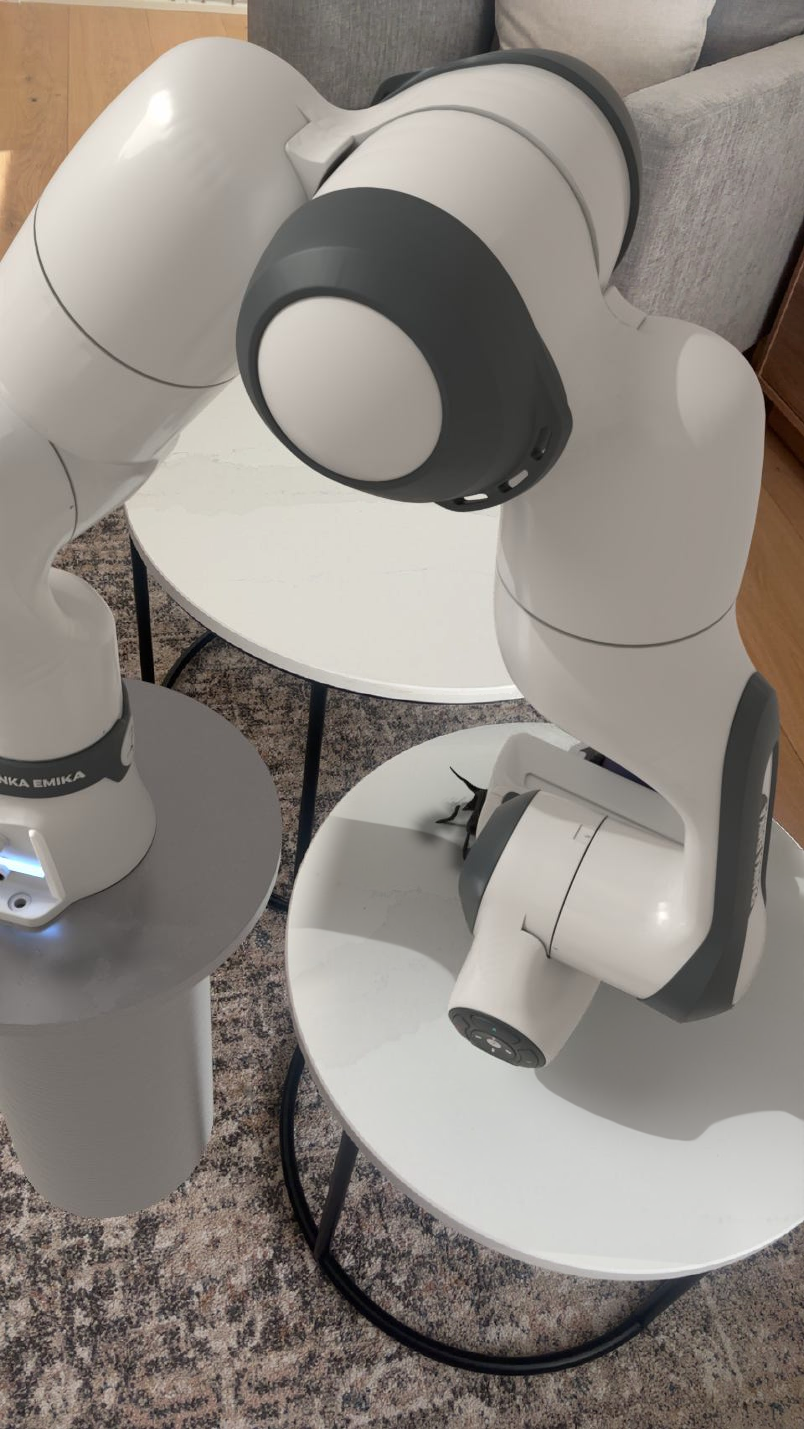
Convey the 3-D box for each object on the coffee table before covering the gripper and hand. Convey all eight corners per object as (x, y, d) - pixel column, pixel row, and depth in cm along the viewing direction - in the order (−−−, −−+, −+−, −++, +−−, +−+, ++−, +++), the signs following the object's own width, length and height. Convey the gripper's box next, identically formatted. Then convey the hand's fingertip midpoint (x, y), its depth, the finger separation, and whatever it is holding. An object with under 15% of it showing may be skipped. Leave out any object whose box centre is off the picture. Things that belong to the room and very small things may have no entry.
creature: (510, 888, 91) (523, 804, 95) (521, 862, 86) (534, 775, 90) (418, 868, 91) (435, 786, 95) (424, 841, 86) (441, 756, 90)
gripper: (731, 913, 75) (781, 785, 84) (468, 787, 81) (541, 679, 90) (703, 961, 80) (753, 834, 89) (456, 839, 85) (526, 731, 94)
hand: (645, 755), depth 89 cm, fingers closed on cup, 6 cm apart
